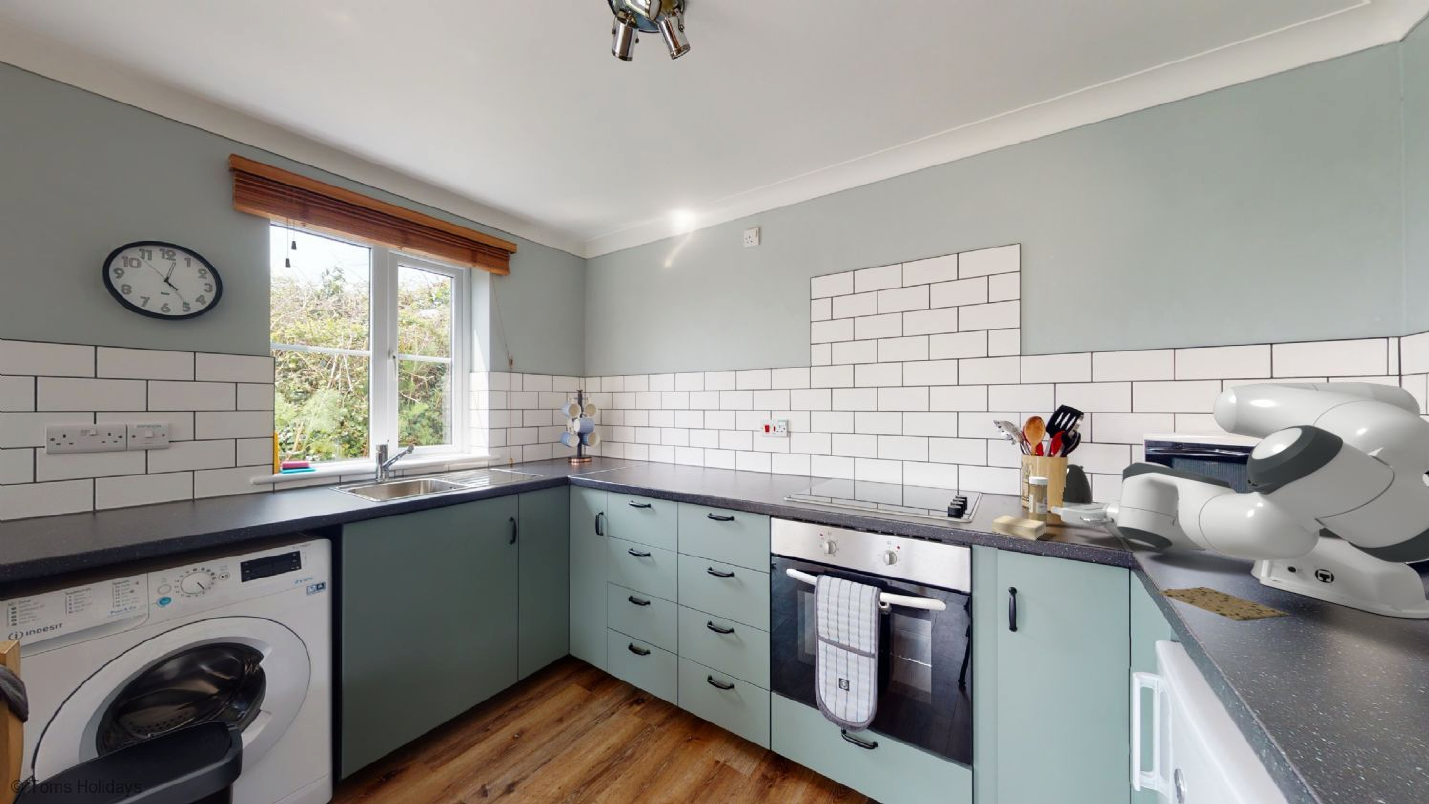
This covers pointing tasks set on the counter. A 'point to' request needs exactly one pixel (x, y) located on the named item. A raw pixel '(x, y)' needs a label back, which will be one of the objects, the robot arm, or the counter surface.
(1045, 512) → the sprinkles bottle
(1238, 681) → the counter surface
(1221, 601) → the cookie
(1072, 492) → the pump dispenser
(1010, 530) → the block
